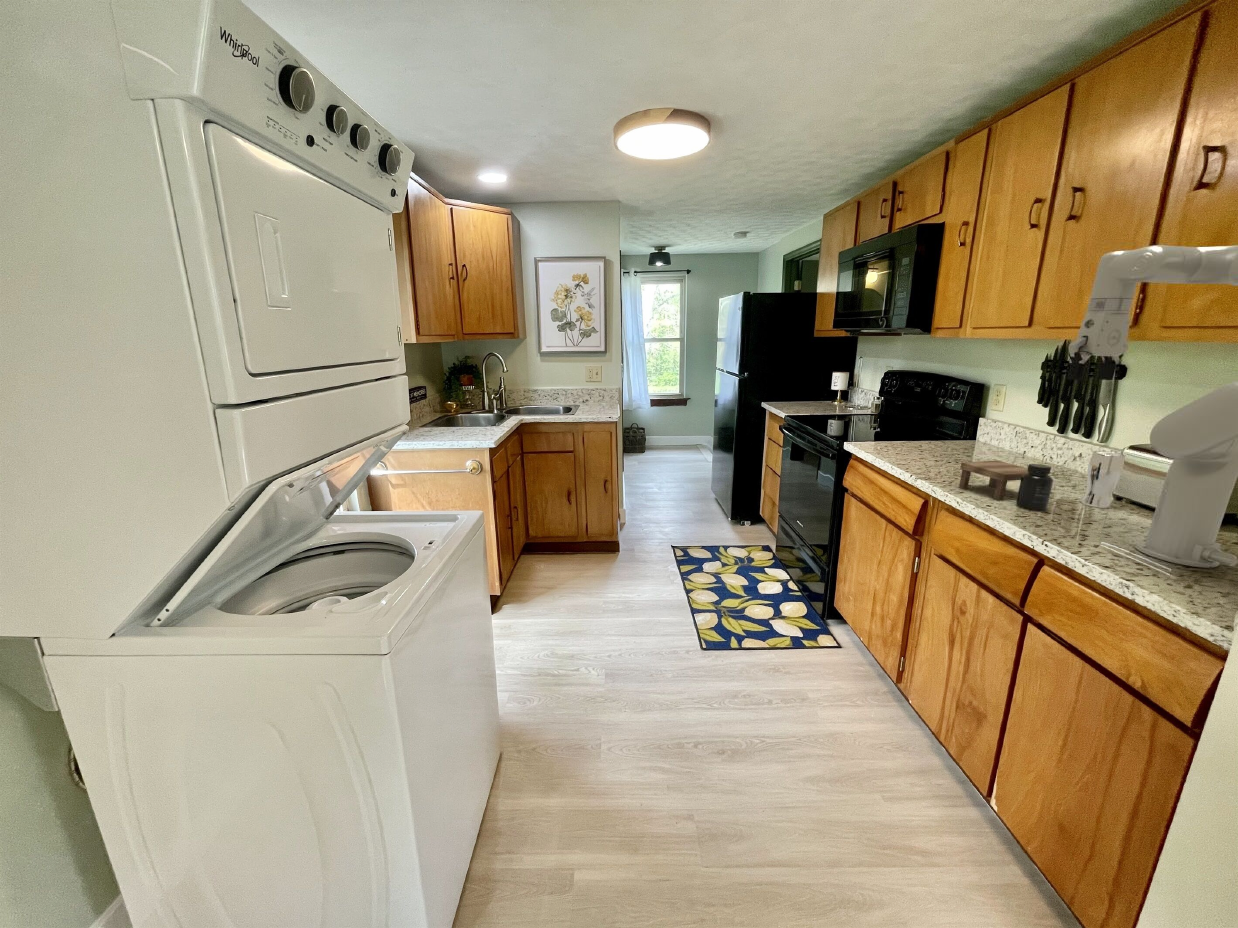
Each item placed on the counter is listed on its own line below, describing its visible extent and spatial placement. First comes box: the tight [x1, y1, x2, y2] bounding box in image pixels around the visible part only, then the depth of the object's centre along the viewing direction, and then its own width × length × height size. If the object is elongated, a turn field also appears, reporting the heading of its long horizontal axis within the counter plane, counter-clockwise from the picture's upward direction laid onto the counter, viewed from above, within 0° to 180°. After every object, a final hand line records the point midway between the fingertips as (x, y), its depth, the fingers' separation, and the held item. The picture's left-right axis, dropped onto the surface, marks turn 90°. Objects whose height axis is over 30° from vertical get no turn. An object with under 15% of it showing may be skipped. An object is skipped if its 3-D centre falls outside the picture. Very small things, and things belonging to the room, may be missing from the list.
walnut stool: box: [958, 460, 1028, 502], centre depth 151 cm, size 14×14×8 cm
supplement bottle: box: [1015, 463, 1054, 512], centre depth 138 cm, size 7×7×12 cm
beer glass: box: [1080, 450, 1126, 509], centre depth 141 cm, size 7×7×15 cm
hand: (1089, 379), depth 123 cm, fingers open, 9 cm apart
